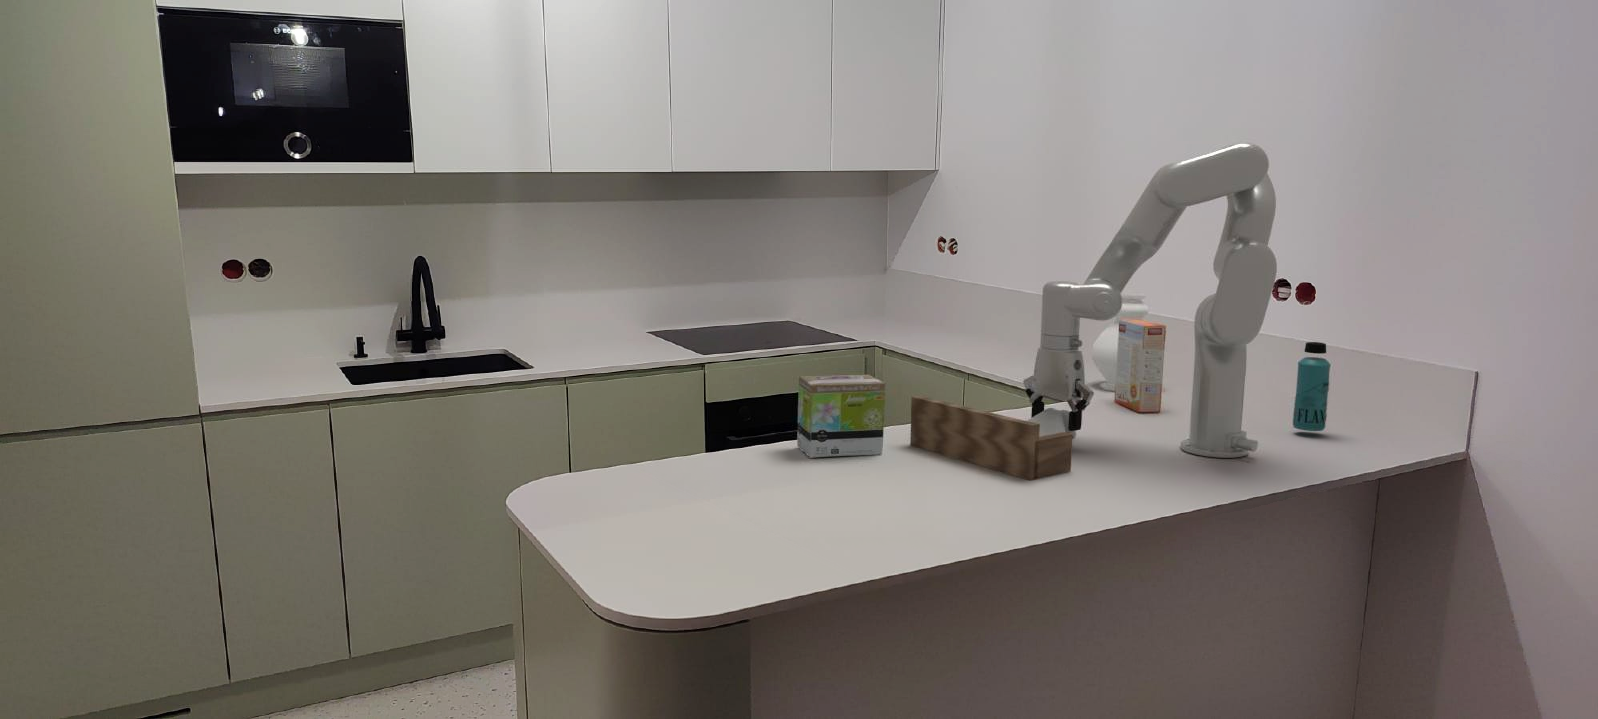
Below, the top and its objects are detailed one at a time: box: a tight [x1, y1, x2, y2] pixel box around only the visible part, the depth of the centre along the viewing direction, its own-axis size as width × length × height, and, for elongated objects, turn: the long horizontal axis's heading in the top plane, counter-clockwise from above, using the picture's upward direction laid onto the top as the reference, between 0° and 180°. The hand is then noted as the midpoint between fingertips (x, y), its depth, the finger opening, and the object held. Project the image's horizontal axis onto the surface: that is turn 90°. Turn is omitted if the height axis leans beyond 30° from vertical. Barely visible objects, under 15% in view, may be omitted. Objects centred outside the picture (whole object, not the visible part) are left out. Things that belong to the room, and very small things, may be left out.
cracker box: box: [1114, 319, 1167, 414], centre depth 248 cm, size 14×6×21 cm, turn 6°
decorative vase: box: [1091, 292, 1149, 392], centre depth 273 cm, size 18×18×25 cm
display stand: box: [909, 395, 1073, 481], centre depth 200 cm, size 32×11×10 cm, turn 35°
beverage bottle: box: [1292, 341, 1331, 432], centre depth 220 cm, size 6×7×20 cm
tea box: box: [796, 374, 886, 459], centre depth 204 cm, size 15×10×15 cm, turn 105°
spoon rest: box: [1026, 407, 1077, 438], centre depth 209 cm, size 24×12×7 cm, turn 147°
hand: (1055, 425), depth 211 cm, fingers open, 9 cm apart
